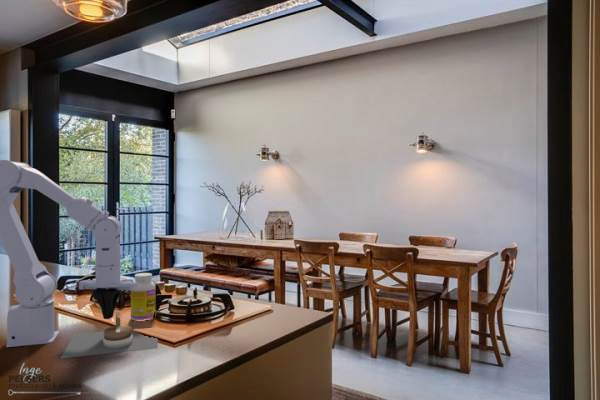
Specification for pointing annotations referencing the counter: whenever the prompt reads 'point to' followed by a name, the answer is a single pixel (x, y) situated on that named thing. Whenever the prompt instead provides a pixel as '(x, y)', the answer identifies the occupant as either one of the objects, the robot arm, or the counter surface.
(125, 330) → the cap
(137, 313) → the supplement bottle
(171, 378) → the counter surface
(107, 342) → the jar
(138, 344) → the mat
